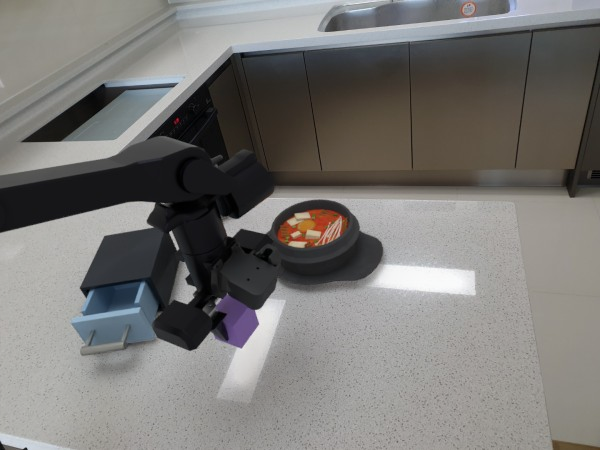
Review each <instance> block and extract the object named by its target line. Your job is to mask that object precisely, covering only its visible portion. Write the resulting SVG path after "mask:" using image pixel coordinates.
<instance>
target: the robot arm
mask: <svg viewBox="0 0 600 450" xmlns="http://www.w3.org/2000/svg"><path fill="white" fill-rule="evenodd" d="M211 159H212V157H211V156H210V154H209V153H208V152H207V151H206V150H205V149H204V148H203V147H201V146H197V145H194V144H191V143H187V142H184V141H181V140H179V139H175V138H172V137H169V136H165V135H163V136H162V135H158V136H154V137H152V138H148V139H146V140H143V141H140V142H137V143H134V144H131V145H128V147H126V148H125V149H123V150H122V151H120V152H119V153H117V154H115V155H111V156H109V157H105V158H99V159H93V160H86V161H80V162H74V163H68V164H62V165H57V166H50V167H43V168H36V169H32V170H31V169H30V170H26V171H25V170H24V171H19V172H12V173H7V174H0V234H2V233H7V232H10V231H15V230H19V229H23V228H27V227H32V226H35V225H40V224H43V223H48V222H53V221H56V220H60V219H64V218H67V217H68V218H69V217H73V216H76V215H81V214H85V213H89V212H94V211H98V210H101V209H106V208H111V207H114V206H118V205H119V206H120V205H123V204H127V203H138V202H139V203H141V202H142V203H143V202H144V203H154V206H153V209H152V211H151V212H150V213H149V215H148V216H147V219H146V224H147V225H149V226H151V228H156V229H158V230H160V231H161V232H163V233H165V234H166V233H172V235H173V237H174V239H175V242H176V245H177V246H178V249H177V251H176V252H175V253H174V255H175V257H176V259H177V260H179V262H183V263H185V265H186V268H187V270H188V273H189V274H188V275H187V276H186V277H185V278H184V280H185V282H186V285H188V286H191V287H194V288H195V289H196V290H195V291H194V292H193V293H192V297H193V298H192V299H191V300H190V301H189V302H188V303H185V302H182V301H179V300H176V299H173V300H172V301H171V302H169V305H168V306H167V307H166V308H165V309H164V311H162V312H160V314H159V315H157V316H156V317H155V320H154V321H153V322H152V329H153V331H154V332H155V337H156V338H157V339H158V340H161V341H164V342H167V343H169V344H172V345H174V346H176V347H179V348H180V349H183V350H185V351H188V352H191V351H195V350H197V349H198V348H199V347H200V346H201V344H202V343H203V342H204V341H205V340H206V339H207V337H208V336H209V335H210V333H212V334H213V335H214V334H215V335H216V336H217V337H219V338H220V339H222V340H224V341H228V340H229V337H228V332H227V330H226V327H225V325H224V322H223V319H224V318H225V317H226V316H227V314H226V313H223V312H220V311H218V310H217V308H216V307H217V306H216V305H217V304H216V303H217V302H218V300H219V299H220V300H221V299H223V298H224V297H225V296H226V295H227V294H228V295H229V296H230V297H232V298H234V299H236V300H237V301H239V302H241V303H243V304H244V305H246V306H247V307H248V308H250V309H252V310H255V311H258V310H261V309H262V308H263V307H264V305H265V304H266V301H268V299H269V298H270V296H271V295H272V294H273V293H274V292H275V291H276V287H277V282H278V279H279V278H280V277H279V276H280V274H281V273H282V272H283V268H282V267H281V257H280V254H279V252H278V249H277V248H276V247H275V243H274V240H273V238H272V237H270V236H269V235H268V234H266V233H263V232H258V231H254V230H250V229H245V228H240V229H239V230H238V231H237V232H236V233H235V234H234V235H233V236H229V235H228V234H227V230H226V228H225V227H226V226H225V224H224V221H223V218H227V217H229V218H230V219H232V220H240V219H241V218H242V217H243V216H244V215H246V214H248V213H249V212H250V211H252V210H253V209H255V208H256V207H257V206H258V205H260V204H261V203H263V202H264V201H265V200H267V199H268V198H269V197H271V196H272V195H273V194H274V192H275V181H274V178H273V177H272V176H271V175H270V173H269V171H268V170H267V168H266V167H265V166H264V165H263V164H262V163H261V162H260V161H259V160H258V159H257V154H256V152H255V151H251V150H247V149H244V148H243V149H241V150H240V151H238V152H237V153H235V154H234V155H233V156H232V157H231V158H230V159H228V160H225V162H223V163H221V164H219V165H218V166H219V167H217V168H216V167H214V166H213V165H212V160H211ZM221 216H223V217H222V218H221ZM0 450H6V448H5V446H4V445H3V443H2V441H1V440H0ZM22 450H29V448H28V447H27V446H25V447H24V448H22Z"/></svg>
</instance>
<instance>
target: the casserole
mask: <svg viewBox="0 0 600 450" xmlns="http://www.w3.org/2000/svg"><path fill="white" fill-rule="evenodd" d="M360 229H361V226H360V222H359V220H358V218H357V216H356V215H355V214H353V213H352V212H351V210H350V209H349V208H348V207H347V206H346V205H344V204H342V203H341V202H338V201H335V200H332V199H324V198H323V199H322V198H321V199H320V198H319V199H318V198H317V199H309V200H304V201H299V202H297V203H294V204H292V205H290V206H288V207H287V208H285V209H283V210H282V211H281V212H279V213H278V215H276V217H275V218H274V219H273V221H272V223H271V227H270V229H269V231H267V232H266V233H265V234H268V235H269V236H270V237H272V238H273V240H274V243H275V247H276V248H277V249H278V252H279V254H280V257H281V267H282V268H283V272H282V273H281V274H280V276H279V277H278V278H280V279H283V280H284V281H285V282H289V283H291V284H295V285H302V286H317V285H323V284H330V283H336V282H358V281H361V280H363V279H366V278H367V277H368V276H370V275H371V274H372V273H373V272H374V271H376V269H377V268H378V266H379V264H380V263H381V262H382V259H383V255H384V246H383V243H382V241H381V240H380V239H379V238H377V237H375V236H373V235H370V234H368V233H365V232H363V231H361V230H360Z"/></svg>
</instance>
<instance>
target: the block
mask: <svg viewBox="0 0 600 450" xmlns="http://www.w3.org/2000/svg"><path fill="white" fill-rule="evenodd" d="M216 306H217V307H216V308H217V310H218V311H220V312H223V313H226V314H227V316H226V317H225V318H224V319H223V322H224V325H225V327H226V330H227V332H228V337H229V340H228V341H224V340H222V339H220V338H219V337H217V336H216V335H215V334H213V336H214V339H215V340H218V341H220V342H222V343H225V344H227V345H230V346H234V347H235V348H238V349H243V347H244V346H245V345H246V343H247V342H248V341H249V339H251V337H252V335H253V334H254V333H255V332H256V329H257V328H258V327H259V326H260V322H259V319H258V315H257V313H256V310H252V309H250V308H248V307H247V306H246V305H244V304H243V303H241V302H239V301H237V300H236V299H234V298H232V297H230V296H229V295H228V294H227V295H226V296H225V297H224V298H223V299H221V298H220V300H219V301H218V303H217V304H216Z"/></svg>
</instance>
